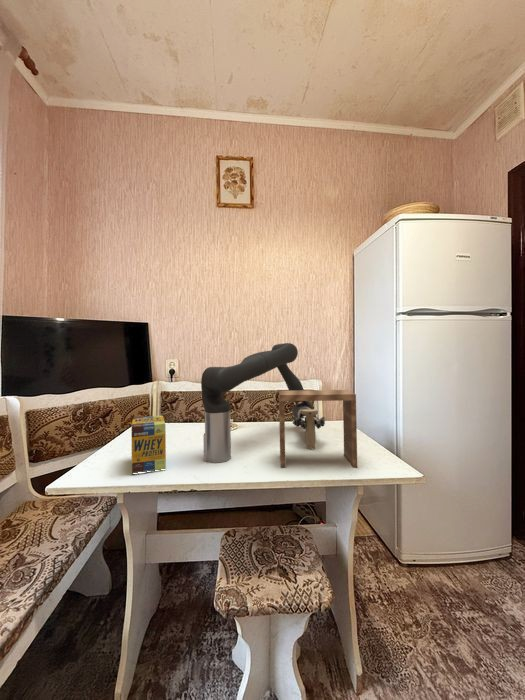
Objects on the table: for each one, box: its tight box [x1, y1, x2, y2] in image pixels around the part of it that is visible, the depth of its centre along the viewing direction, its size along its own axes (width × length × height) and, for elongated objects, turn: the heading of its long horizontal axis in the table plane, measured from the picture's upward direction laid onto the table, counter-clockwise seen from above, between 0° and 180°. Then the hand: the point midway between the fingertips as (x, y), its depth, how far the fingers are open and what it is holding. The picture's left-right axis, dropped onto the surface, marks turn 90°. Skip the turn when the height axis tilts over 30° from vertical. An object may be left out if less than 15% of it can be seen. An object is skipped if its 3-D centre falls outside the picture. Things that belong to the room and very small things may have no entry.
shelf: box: [278, 389, 358, 469], centre depth 103 cm, size 25×12×24 cm, turn 88°
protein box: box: [130, 415, 167, 474], centre depth 103 cm, size 10×15×16 cm
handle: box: [302, 408, 319, 450], centre depth 118 cm, size 5×6×15 cm
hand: (311, 426), depth 115 cm, fingers open, 4 cm apart
